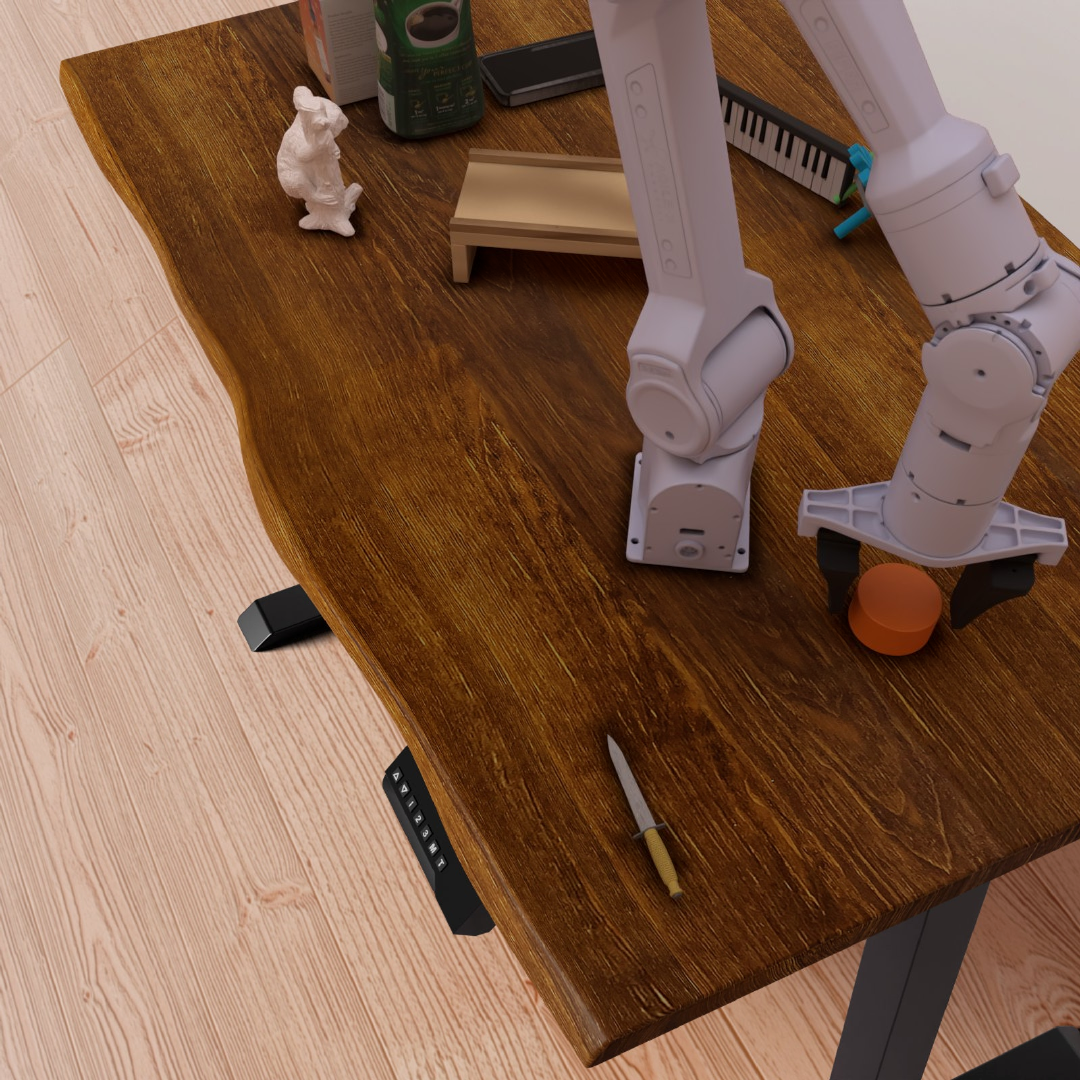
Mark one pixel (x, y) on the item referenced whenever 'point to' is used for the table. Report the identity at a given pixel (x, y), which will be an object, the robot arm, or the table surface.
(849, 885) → the table surface
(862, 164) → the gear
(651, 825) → the dagger
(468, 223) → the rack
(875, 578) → the disc
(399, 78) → the coffee jar
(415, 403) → the table surface
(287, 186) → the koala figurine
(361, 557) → the table surface
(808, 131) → the midi keyboard
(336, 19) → the small box
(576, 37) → the phone
